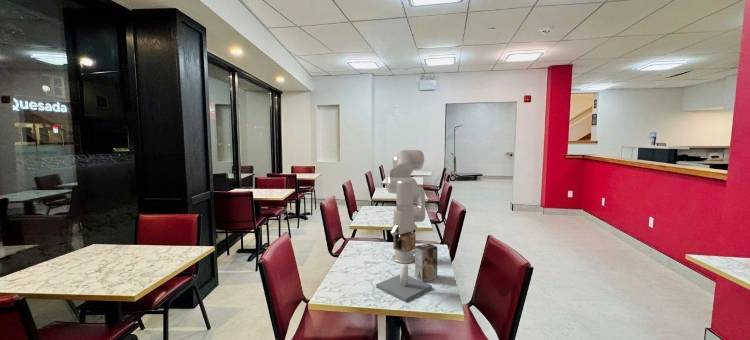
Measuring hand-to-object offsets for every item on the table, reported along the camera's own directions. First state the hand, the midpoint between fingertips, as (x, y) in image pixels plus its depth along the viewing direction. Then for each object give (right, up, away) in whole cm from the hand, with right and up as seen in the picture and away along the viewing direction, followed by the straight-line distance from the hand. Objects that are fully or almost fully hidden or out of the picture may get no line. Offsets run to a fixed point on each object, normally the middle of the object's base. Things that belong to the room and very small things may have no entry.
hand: (404, 246), depth 140 cm
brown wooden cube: (0, -1, 0) cm, 1 cm away
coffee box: (+12, -19, +12) cm, 25 cm away
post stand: (0, -20, +2) cm, 20 cm away
